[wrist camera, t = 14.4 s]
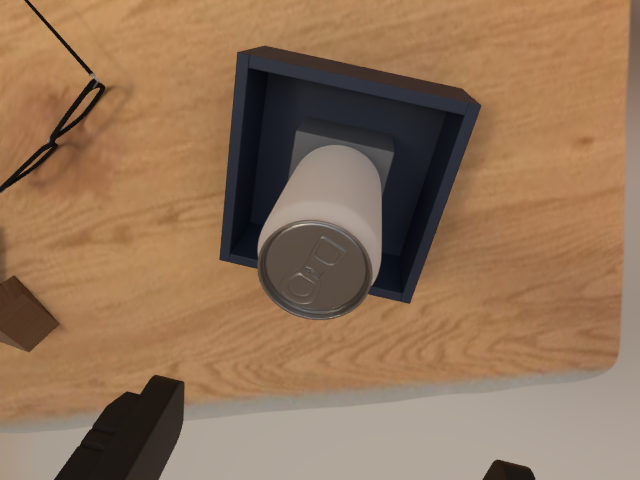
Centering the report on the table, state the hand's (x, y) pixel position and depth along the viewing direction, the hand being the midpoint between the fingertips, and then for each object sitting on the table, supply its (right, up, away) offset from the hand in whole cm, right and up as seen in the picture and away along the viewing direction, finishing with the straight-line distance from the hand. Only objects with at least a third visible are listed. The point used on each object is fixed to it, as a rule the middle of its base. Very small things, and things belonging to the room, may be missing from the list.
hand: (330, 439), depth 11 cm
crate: (+2, +12, +26) cm, 28 cm away
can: (+1, +9, +20) cm, 22 cm away
